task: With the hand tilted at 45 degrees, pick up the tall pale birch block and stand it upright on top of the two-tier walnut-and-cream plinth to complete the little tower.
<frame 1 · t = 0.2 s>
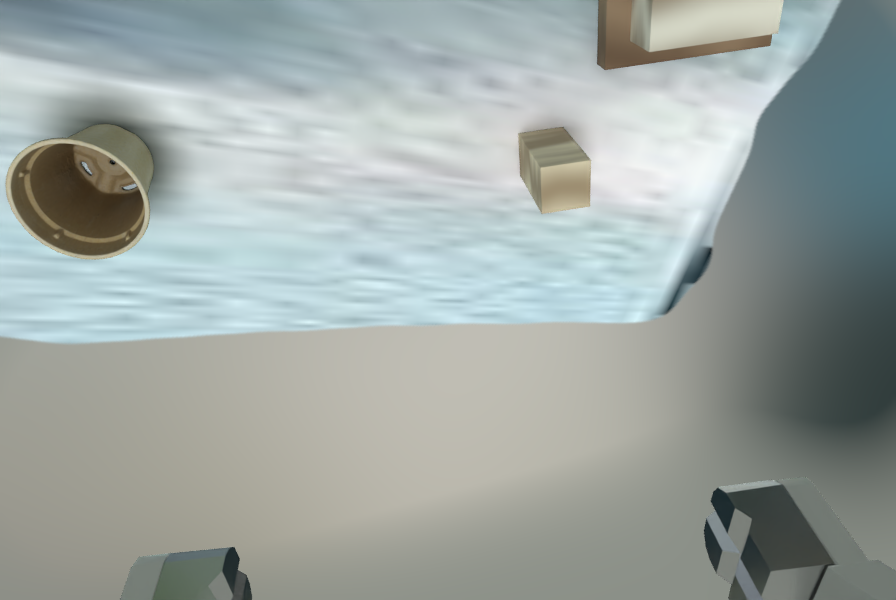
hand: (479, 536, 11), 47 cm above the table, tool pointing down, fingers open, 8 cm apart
birch block: (541, 151, 58), on the table
flower pot: (115, 158, 54), on the table
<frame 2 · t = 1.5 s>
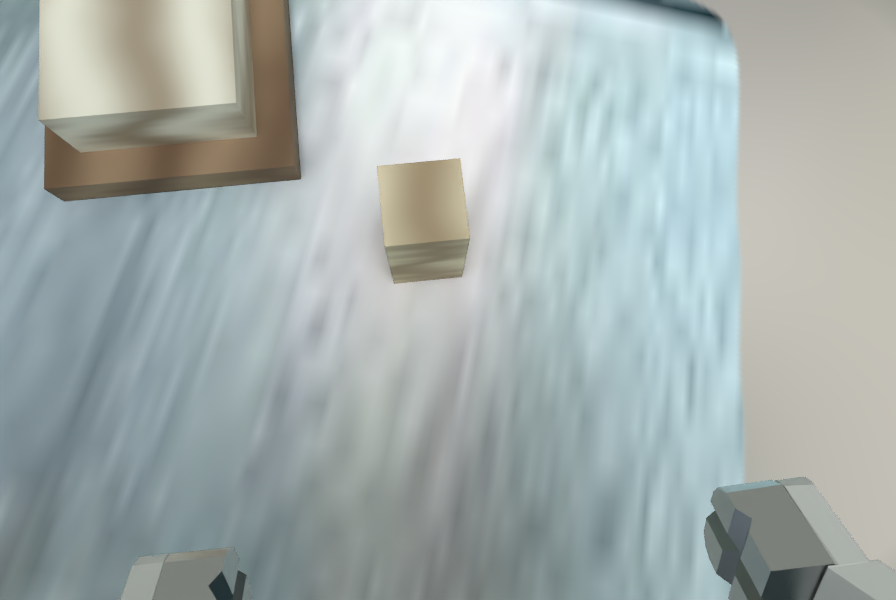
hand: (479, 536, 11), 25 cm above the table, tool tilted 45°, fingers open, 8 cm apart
plinth: (179, 83, 40), on the table
birch block: (424, 247, 38), on the table
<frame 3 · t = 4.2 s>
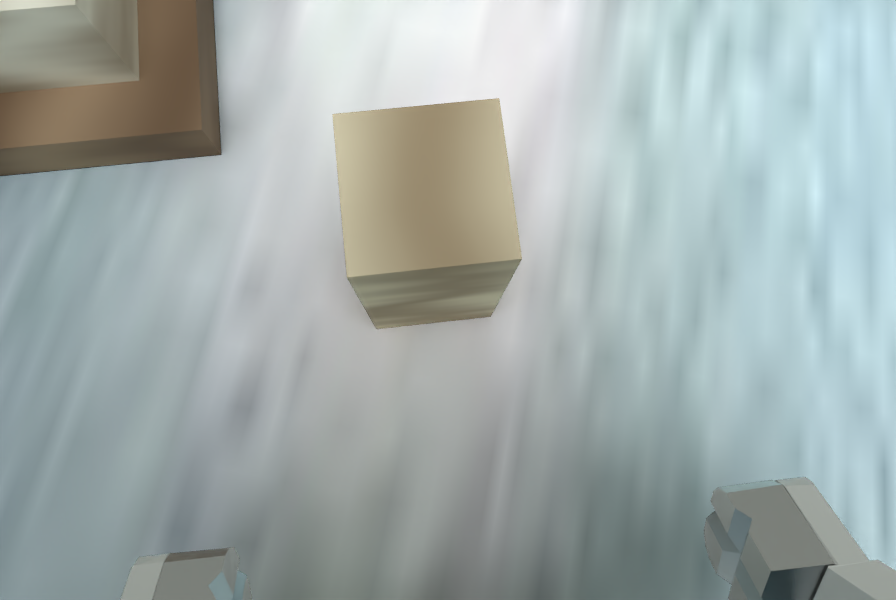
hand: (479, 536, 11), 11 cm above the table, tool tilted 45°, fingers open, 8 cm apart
birch block: (427, 267, 23), on the table
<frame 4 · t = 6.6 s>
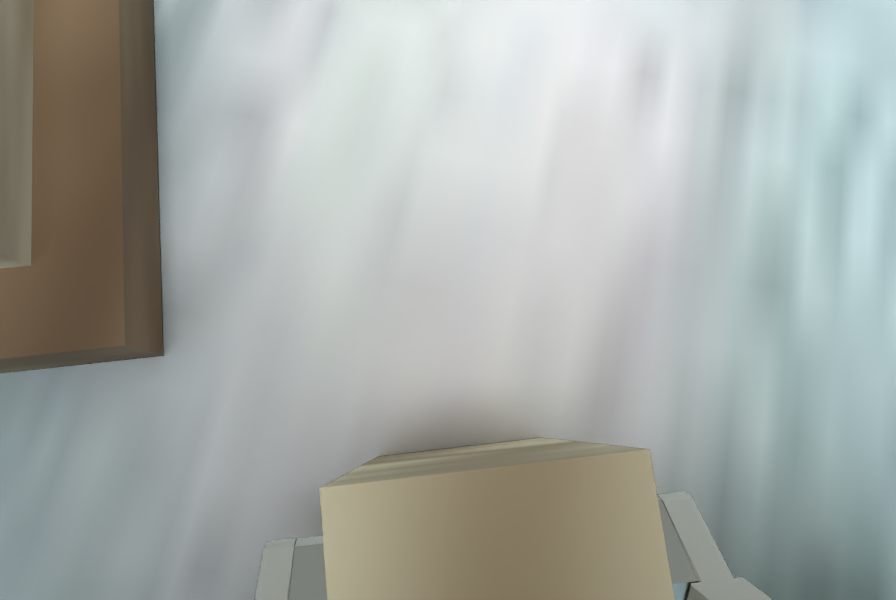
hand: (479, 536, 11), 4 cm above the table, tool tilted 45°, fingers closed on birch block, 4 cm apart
birch block: (470, 533, 15), on the table, touching gripper
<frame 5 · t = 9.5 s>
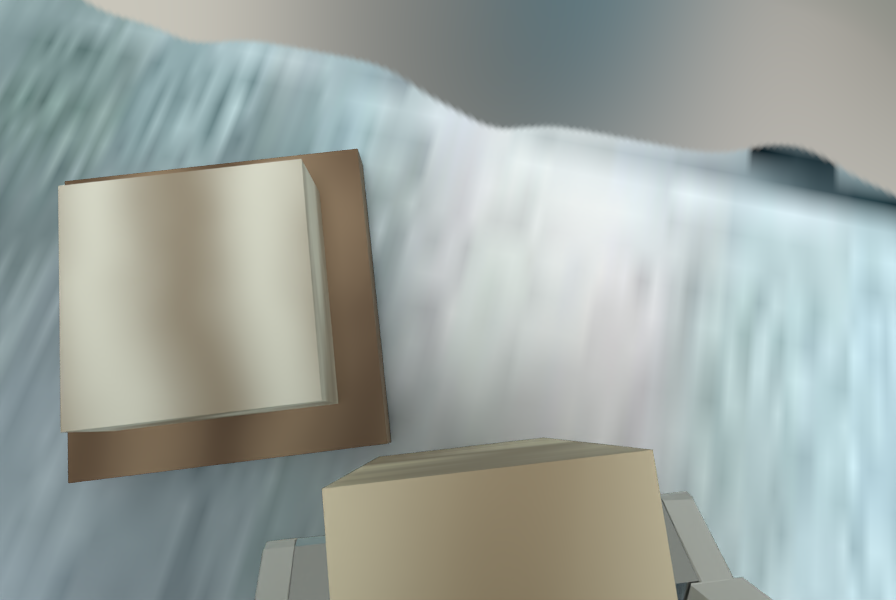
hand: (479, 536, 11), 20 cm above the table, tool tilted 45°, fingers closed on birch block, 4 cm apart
plinth: (234, 314, 32), on the table
birch block: (471, 533, 15), point 15 cm above the table, touching gripper
when the fingers open (12 cm above the table, at t = 12.7 s): birch block drops 1 cm, resting on plinth.
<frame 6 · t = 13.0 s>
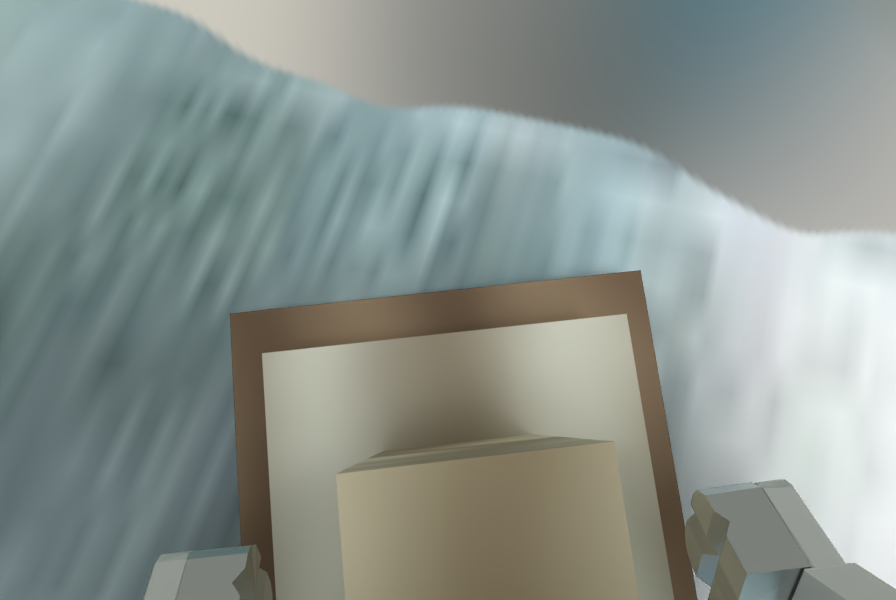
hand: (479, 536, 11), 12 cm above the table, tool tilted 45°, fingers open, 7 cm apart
plinth: (459, 498, 23), on the table
birch block: (466, 521, 17), point 6 cm above the table, touching plinth
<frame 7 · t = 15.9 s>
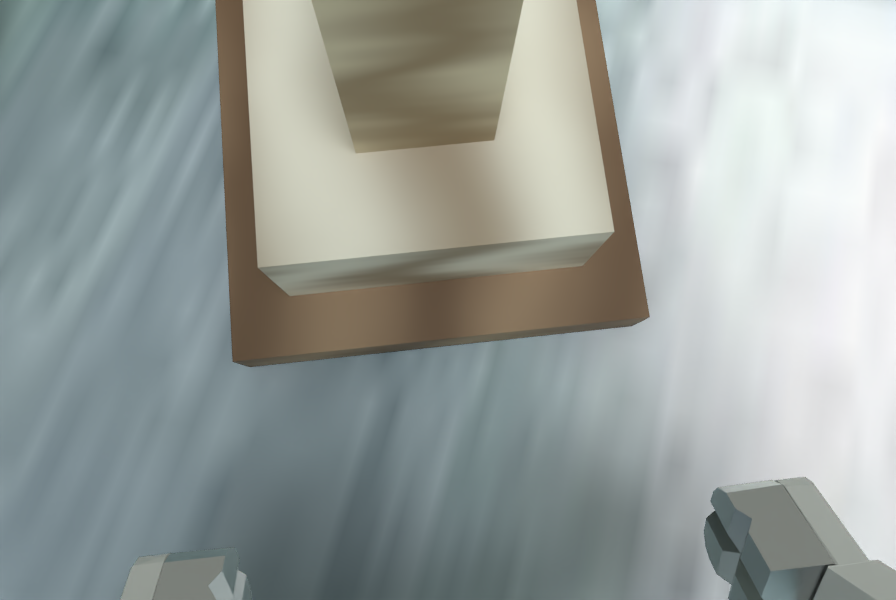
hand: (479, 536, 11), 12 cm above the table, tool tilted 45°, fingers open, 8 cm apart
plinth: (423, 166, 25), on the table
birch block: (418, 83, 19), point 6 cm above the table, touching plinth
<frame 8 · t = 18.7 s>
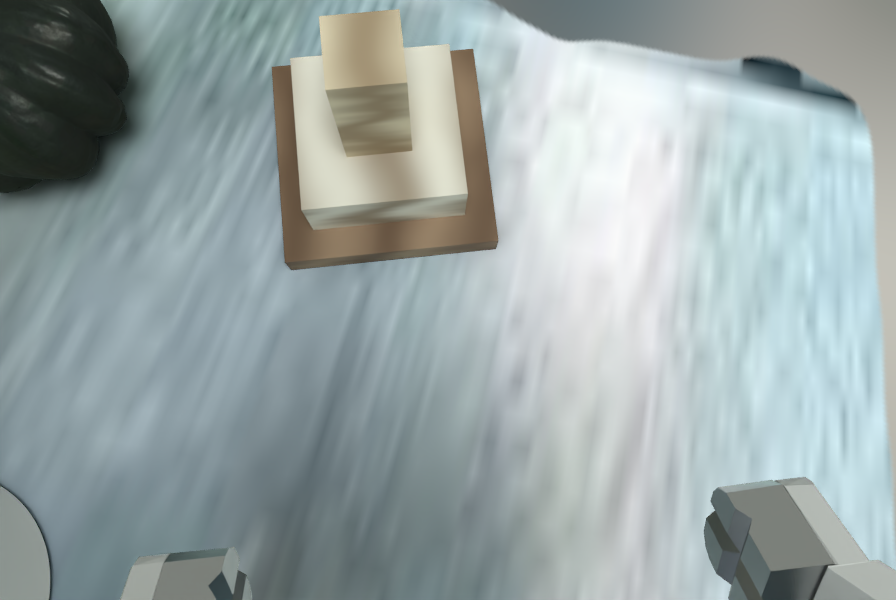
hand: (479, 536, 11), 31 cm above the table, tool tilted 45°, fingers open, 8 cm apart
plinth: (384, 163, 46), on the table
squash: (54, 117, 46), on the table
birch block: (376, 123, 40), point 6 cm above the table, touching plinth
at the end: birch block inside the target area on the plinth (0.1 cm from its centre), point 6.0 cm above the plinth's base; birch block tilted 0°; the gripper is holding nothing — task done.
